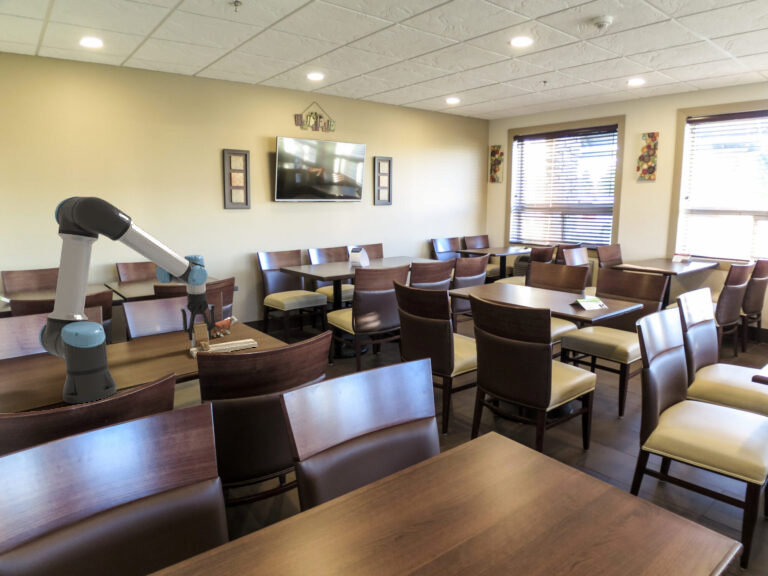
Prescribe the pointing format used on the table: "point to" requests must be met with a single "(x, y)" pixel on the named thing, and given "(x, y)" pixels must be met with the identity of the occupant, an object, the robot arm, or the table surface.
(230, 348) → the board
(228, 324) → the bull figurine
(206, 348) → the tan boxy piece
